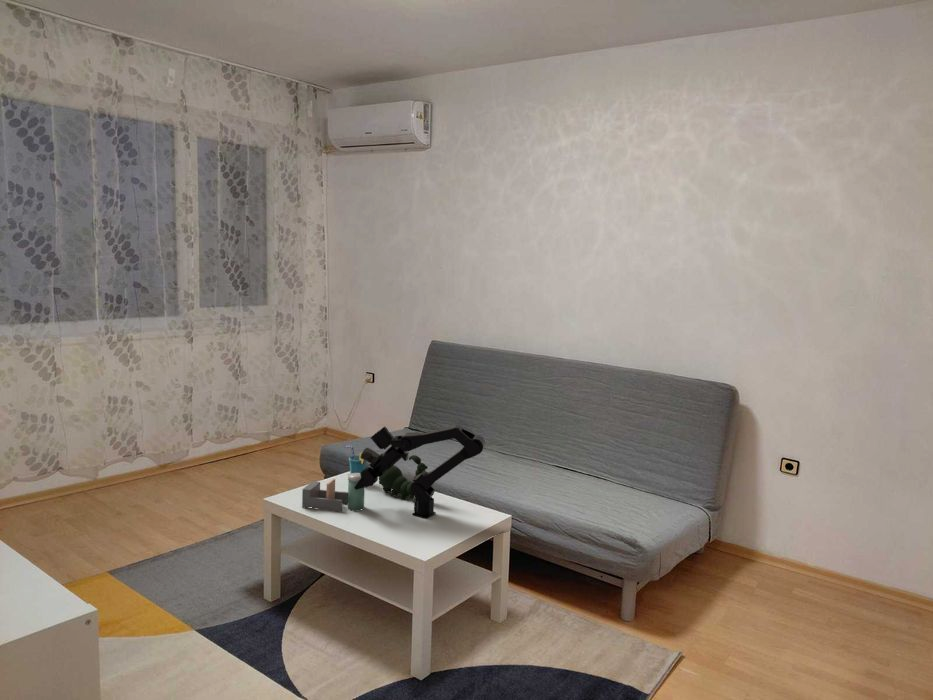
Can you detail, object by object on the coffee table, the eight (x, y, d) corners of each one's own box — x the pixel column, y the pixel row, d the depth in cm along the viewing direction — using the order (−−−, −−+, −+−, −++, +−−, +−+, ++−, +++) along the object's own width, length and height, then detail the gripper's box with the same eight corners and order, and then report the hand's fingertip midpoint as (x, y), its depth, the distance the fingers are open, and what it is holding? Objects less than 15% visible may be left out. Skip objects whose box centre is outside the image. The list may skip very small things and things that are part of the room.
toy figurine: (429, 503, 266) (383, 483, 280) (434, 457, 262) (387, 440, 277) (413, 509, 258) (366, 489, 273) (418, 461, 255) (371, 444, 270)
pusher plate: (334, 501, 257) (335, 478, 256) (328, 507, 250) (328, 484, 249) (332, 501, 257) (333, 478, 256) (326, 507, 250) (326, 484, 249)
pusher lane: (349, 502, 257) (350, 484, 257) (341, 511, 247) (341, 492, 247) (312, 499, 260) (312, 481, 259) (302, 507, 250) (302, 489, 249)
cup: (338, 480, 284) (339, 445, 283) (353, 477, 290) (354, 442, 288) (358, 488, 275) (359, 452, 273) (373, 484, 280) (374, 449, 279)
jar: (368, 507, 253) (369, 474, 252) (357, 512, 247) (357, 478, 246) (354, 503, 256) (355, 471, 255) (343, 508, 251) (344, 475, 249)
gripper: (381, 436, 257) (352, 462, 260) (366, 448, 239) (336, 475, 242) (400, 458, 257) (371, 483, 260) (387, 472, 239) (356, 499, 241)
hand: (359, 484), depth 251 cm, fingers open, 9 cm apart
